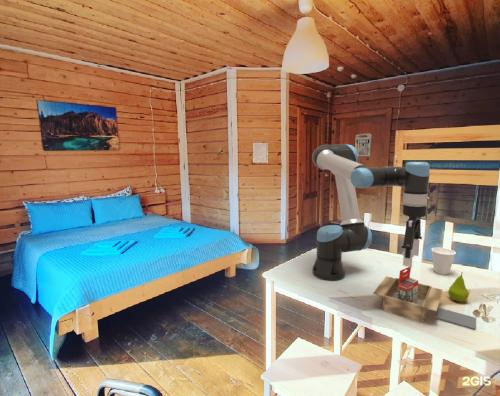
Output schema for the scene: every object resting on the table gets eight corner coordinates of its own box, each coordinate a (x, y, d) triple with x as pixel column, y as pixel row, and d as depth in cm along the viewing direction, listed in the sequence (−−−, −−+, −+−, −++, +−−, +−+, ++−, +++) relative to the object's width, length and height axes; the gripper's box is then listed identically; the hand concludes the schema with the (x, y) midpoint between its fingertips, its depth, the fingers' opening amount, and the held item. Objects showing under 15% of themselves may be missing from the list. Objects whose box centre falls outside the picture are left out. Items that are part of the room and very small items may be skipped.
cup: (458, 274, 139) (460, 252, 137) (445, 278, 134) (448, 255, 132) (437, 266, 147) (439, 246, 146) (424, 270, 143) (426, 249, 141)
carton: (372, 307, 111) (373, 292, 110) (385, 288, 126) (386, 275, 125) (434, 326, 98) (436, 310, 97) (441, 303, 113) (442, 288, 112)
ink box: (417, 304, 113) (420, 268, 110) (406, 310, 108) (409, 273, 106) (407, 300, 116) (410, 265, 113) (396, 306, 111) (399, 270, 109)
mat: (436, 318, 103) (436, 317, 103) (438, 309, 109) (439, 307, 109) (475, 330, 96) (475, 328, 96) (475, 319, 102) (476, 317, 102)
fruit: (446, 300, 115) (449, 272, 113) (449, 294, 119) (451, 267, 118) (466, 306, 111) (469, 276, 109) (468, 299, 115) (471, 271, 113)
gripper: (420, 211, 94) (416, 273, 97) (431, 200, 113) (427, 253, 116) (395, 209, 98) (392, 268, 102) (410, 199, 118) (406, 249, 121)
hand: (411, 260), depth 109 cm, fingers open, 13 cm apart
